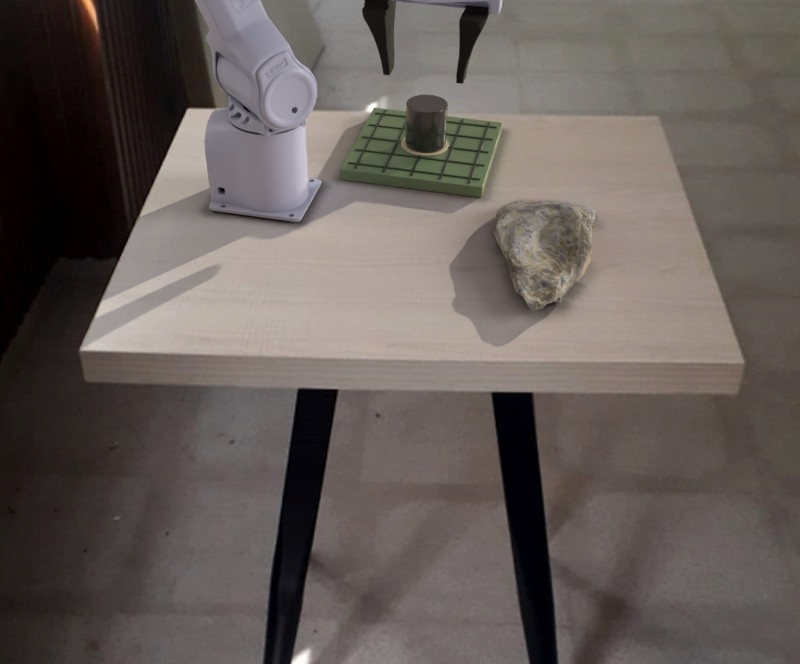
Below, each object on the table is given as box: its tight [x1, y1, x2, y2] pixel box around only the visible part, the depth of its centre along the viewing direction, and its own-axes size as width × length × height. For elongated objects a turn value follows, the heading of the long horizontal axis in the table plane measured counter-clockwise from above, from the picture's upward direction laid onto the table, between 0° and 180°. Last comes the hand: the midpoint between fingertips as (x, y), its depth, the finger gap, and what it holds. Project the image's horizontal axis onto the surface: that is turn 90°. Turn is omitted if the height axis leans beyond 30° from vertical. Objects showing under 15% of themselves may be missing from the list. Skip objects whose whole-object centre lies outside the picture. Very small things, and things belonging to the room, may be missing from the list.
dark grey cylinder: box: [405, 94, 449, 153], centre depth 102 cm, size 4×4×5 cm
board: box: [339, 107, 504, 198], centre depth 104 cm, size 15×15×1 cm
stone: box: [492, 199, 598, 311], centre depth 89 cm, size 20×4×10 cm
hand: (424, 75), depth 99 cm, fingers open, 7 cm apart
